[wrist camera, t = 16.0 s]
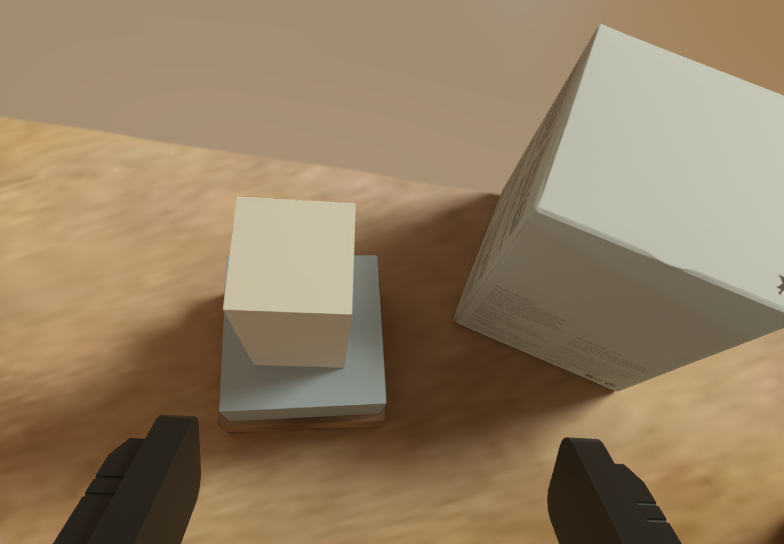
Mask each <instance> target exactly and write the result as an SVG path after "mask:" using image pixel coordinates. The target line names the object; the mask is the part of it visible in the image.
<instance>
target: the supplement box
mask: <svg viewBox="0 0 784 544" xmlns="http://www.w3.org/2000/svg"><path fill="white" fill-rule="evenodd" d="M453 320H454V321H455V322H456V323H458V324H460V325H462V326H464V327H467V328H469V329H471V330H474V331H476V332H478V333H481V334H483V335H485V336H488V337H490V338H492V339H495V340H497V341H499V342H502V343H504V344H506V345H509V346H511V347H513V348H516V349H518V350H520V351H523V352H525V353H527V354H530V355H532V356H534V357H537V358H539V359H541V360H544V361H546V362H548V363H551V364H553V365H555V366H558V367H560V368H562V369H565V370H567V371H569V372H572V373H574V374H577V375H579V376H581V377H584V378H586V379H588V380H591V381H593V382H595V383H597V384H600V385H602V386H604V387H607V388H609V389H611V390H614V391H620V390H623V389H625V388H628V387H631V386H634V385H636V384H639V383H641V382H644V381H646V380H649V379H651V378H654V377H657V376H659V375H662V374H664V373H667V372H669V371H672V370H675V369H677V368H680V367H682V366H685V365H687V364H690V363H693V362H695V361H698V360H701V359H703V358H706V357H709V356H711V355H714V354H717V353H719V352H722V351H724V350H727V349H730V348H732V347H735V346H738V345H740V344H743V343H745V342H748V341H751V340H753V339H756V338H759V337H761V336H764V335H766V334H769V333H772V332H774V331H777V330H780V329H782V328H784V96H783V95H780V94H778V93H775V92H772V91H770V90H768V89H765V88H762V87H760V86H757V85H754V84H751V83H749V82H747V81H744V80H742V79H739V78H737V77H734V76H731V75H729V74H726V73H724V72H721V71H718V70H716V69H713V68H710V67H708V66H705V65H703V64H700V63H698V62H695V61H692V60H690V59H687V58H685V57H682V56H679V55H677V54H675V53H672V52H670V51H667V50H664V49H662V48H659V47H657V46H654V45H652V44H649V43H647V42H644V41H641V40H639V39H636V38H634V37H631V36H629V35H626V34H624V33H621V32H619V31H617V30H614V29H612V28H609V27H607V26H605V25H602V24H599V26H598V28H597V29H596V31H595V33H594V34H593V36H592V38H591V39H590V41H589V43H588V45H587V46H586V48H585V50H584V51H583V53H582V55H581V56H580V58H579V60H578V62H577V63H576V65H575V67H574V68H573V70H572V72H571V73H570V75H569V77H568V79H567V80H566V82H565V84H564V86H563V87H562V89H561V91H560V92H559V94H558V96H557V98H556V99H555V101H554V103H553V104H552V106H551V108H550V110H549V111H548V113H547V114H546V116H545V118H544V119H543V121H542V123H541V125H540V126H539V128H538V130H537V131H536V133H535V135H534V137H533V138H532V140H531V142H530V143H529V145H528V147H527V149H526V150H525V152H524V154H523V155H522V157H521V159H520V161H519V162H518V164H517V166H516V168H515V169H514V171H513V173H512V175H511V176H510V178H509V180H508V181H507V183H506V185H505V187H504V189H503V190H502V193H501V195H500V198H499V200H498V203H497V206H496V208H495V211H494V213H493V216H492V218H491V221H490V223H489V226H488V228H487V231H486V233H485V236H484V239H483V241H482V244H481V246H480V249H479V252H478V254H477V257H476V259H475V262H474V265H473V267H472V270H471V272H470V275H469V278H468V280H467V283H466V285H465V288H464V291H463V293H462V296H461V298H460V301H459V304H458V306H457V309H456V312H455V315H454V318H453Z"/></svg>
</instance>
